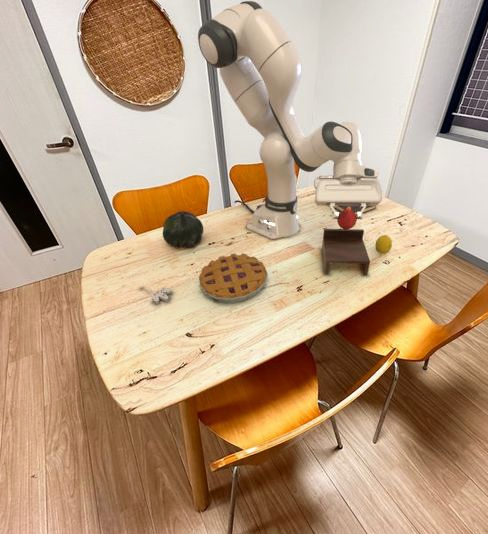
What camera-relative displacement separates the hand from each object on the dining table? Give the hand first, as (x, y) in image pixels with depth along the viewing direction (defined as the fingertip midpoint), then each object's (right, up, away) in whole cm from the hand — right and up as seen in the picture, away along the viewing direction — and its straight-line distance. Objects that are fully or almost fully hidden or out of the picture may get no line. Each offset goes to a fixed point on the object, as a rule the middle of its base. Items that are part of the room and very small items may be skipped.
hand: (347, 218), depth 85 cm
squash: (-58, -6, +25) cm, 63 cm away
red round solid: (0, -3, +3) cm, 5 cm away
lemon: (+17, -10, +17) cm, 26 cm away
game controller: (-60, -24, +2) cm, 65 cm away
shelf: (+2, -13, +13) cm, 19 cm away
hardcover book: (+12, +16, +50) cm, 54 cm away
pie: (-36, -20, +6) cm, 41 cm away
